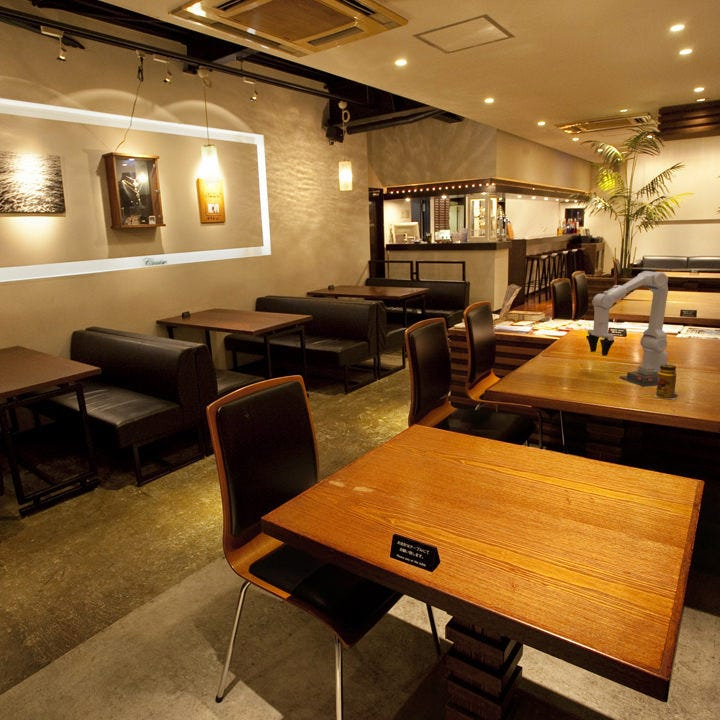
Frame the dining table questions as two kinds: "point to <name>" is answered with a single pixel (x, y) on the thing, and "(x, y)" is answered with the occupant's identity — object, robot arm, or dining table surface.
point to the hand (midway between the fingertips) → (598, 353)
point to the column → (646, 370)
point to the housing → (641, 379)
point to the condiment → (666, 382)
